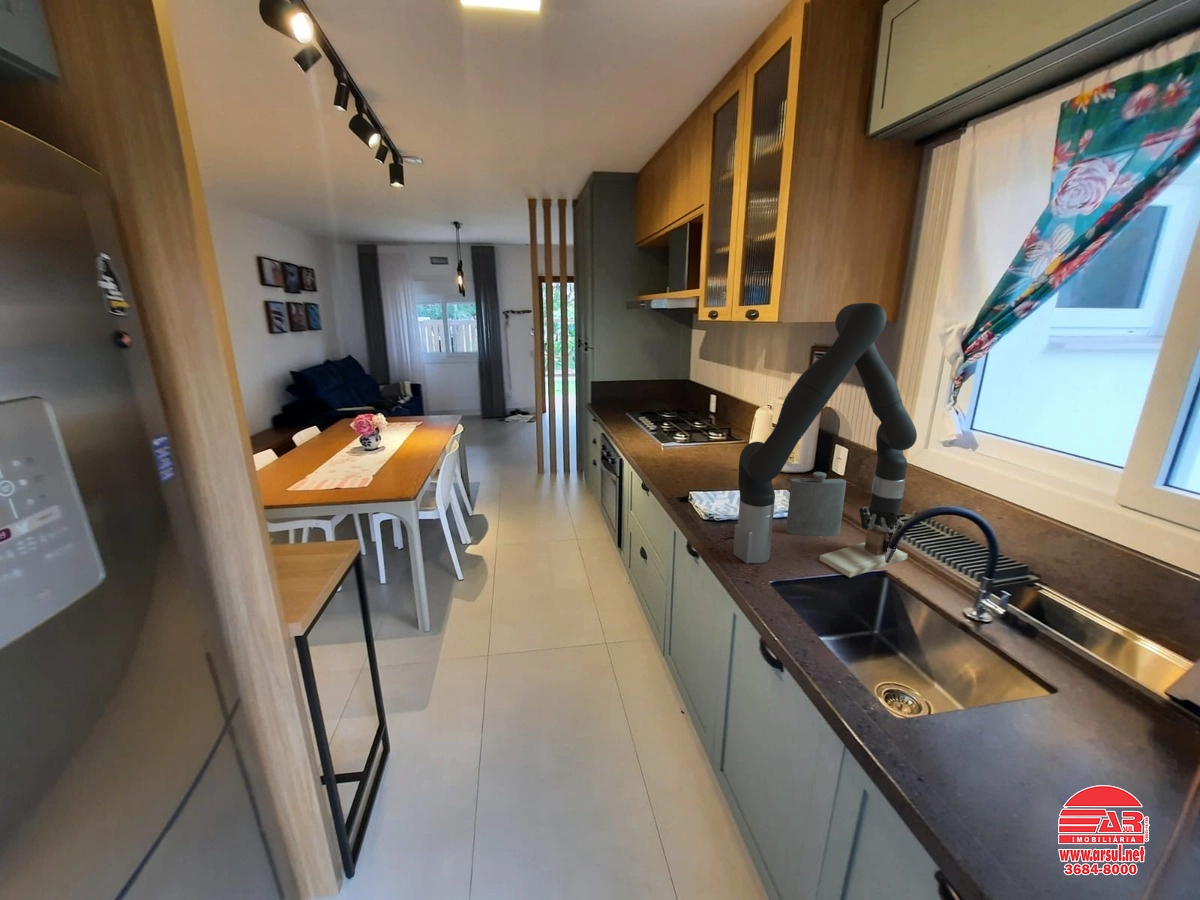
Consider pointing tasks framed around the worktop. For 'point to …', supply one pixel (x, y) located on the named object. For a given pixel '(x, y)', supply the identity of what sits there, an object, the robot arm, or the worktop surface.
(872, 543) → the block
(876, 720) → the worktop surface
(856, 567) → the birch board
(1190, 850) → the worktop surface
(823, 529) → the hip flask
